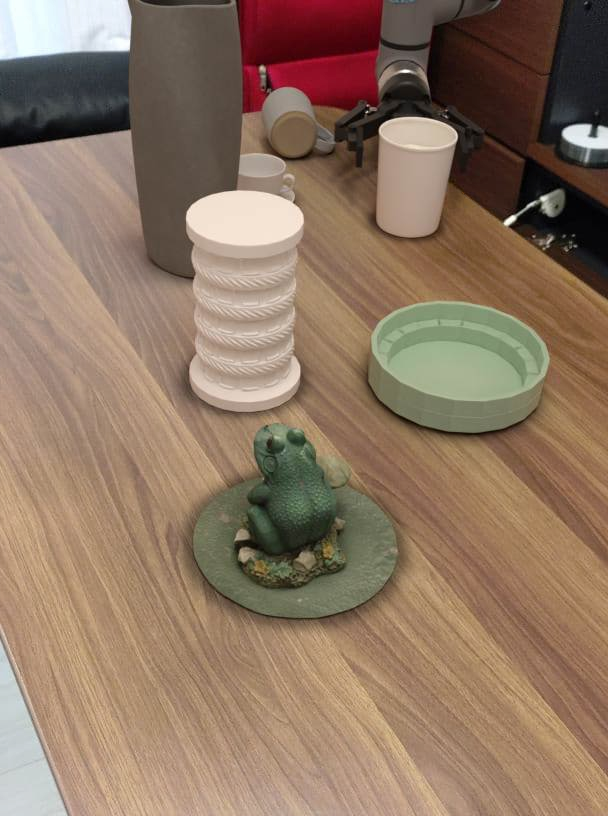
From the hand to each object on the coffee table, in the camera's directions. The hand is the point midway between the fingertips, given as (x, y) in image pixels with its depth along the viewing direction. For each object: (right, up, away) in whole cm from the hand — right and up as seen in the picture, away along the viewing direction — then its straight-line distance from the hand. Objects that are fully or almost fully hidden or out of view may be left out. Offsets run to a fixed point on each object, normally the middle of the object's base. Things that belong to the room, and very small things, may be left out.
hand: (411, 160), depth 126 cm
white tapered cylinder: (0, -7, +3) cm, 8 cm away
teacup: (-20, -3, +6) cm, 21 cm away
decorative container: (-20, -32, -24) cm, 45 cm away
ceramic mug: (-15, +9, +18) cm, 25 cm away
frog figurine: (-15, -50, -41) cm, 66 cm away
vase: (-28, -15, -7) cm, 32 cm away
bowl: (+2, -33, -23) cm, 40 cm away
